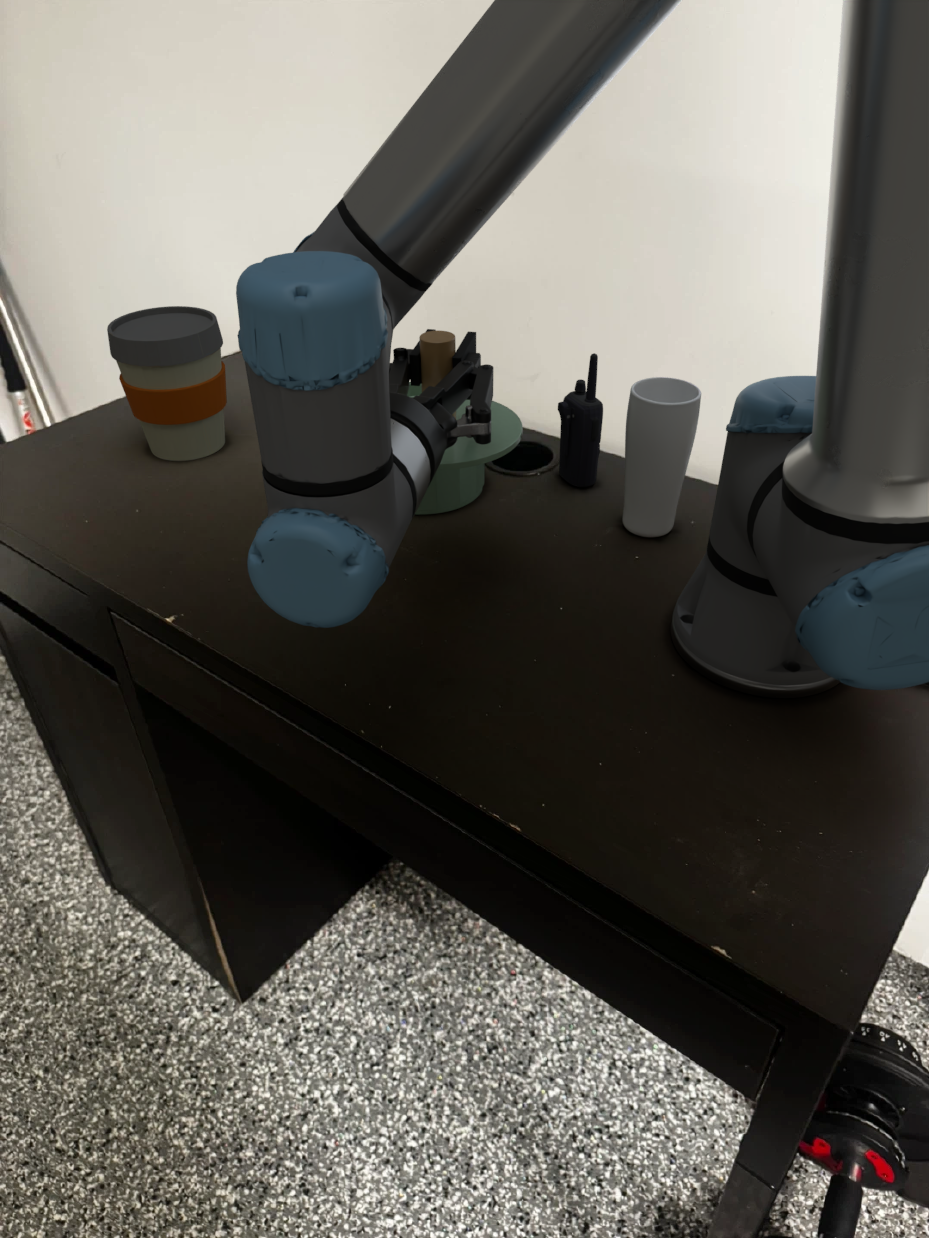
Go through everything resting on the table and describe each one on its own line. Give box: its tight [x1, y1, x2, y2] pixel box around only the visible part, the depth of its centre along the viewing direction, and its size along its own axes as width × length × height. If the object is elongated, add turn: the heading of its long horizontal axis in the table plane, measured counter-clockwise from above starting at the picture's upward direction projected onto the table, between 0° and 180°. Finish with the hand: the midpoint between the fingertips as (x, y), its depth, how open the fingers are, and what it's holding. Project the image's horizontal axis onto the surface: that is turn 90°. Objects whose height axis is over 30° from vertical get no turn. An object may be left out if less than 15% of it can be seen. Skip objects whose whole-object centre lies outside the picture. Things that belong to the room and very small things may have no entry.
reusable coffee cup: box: [106, 305, 228, 462], centre depth 105 cm, size 13×13×15 cm
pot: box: [407, 381, 486, 515], centre depth 98 cm, size 14×19×10 cm
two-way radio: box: [557, 353, 604, 488], centre depth 97 cm, size 6×4×15 cm
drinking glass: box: [621, 376, 702, 538], centre depth 88 cm, size 7×7×15 cm
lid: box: [409, 330, 524, 470], centre depth 77 cm, size 15×15×9 cm
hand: (451, 345), depth 80 cm, fingers closed on lid, 3 cm apart
